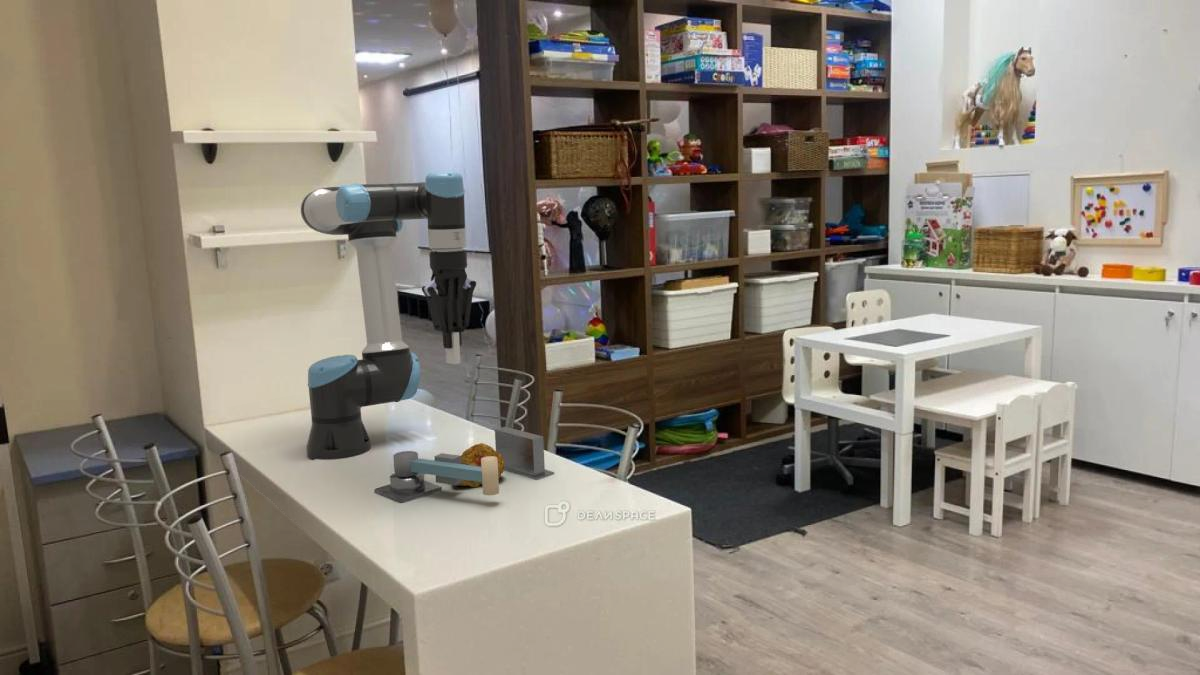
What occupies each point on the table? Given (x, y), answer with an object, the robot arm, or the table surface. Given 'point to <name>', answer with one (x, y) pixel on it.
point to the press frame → (512, 444)
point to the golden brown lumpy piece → (479, 460)
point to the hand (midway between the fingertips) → (453, 362)
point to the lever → (449, 469)
